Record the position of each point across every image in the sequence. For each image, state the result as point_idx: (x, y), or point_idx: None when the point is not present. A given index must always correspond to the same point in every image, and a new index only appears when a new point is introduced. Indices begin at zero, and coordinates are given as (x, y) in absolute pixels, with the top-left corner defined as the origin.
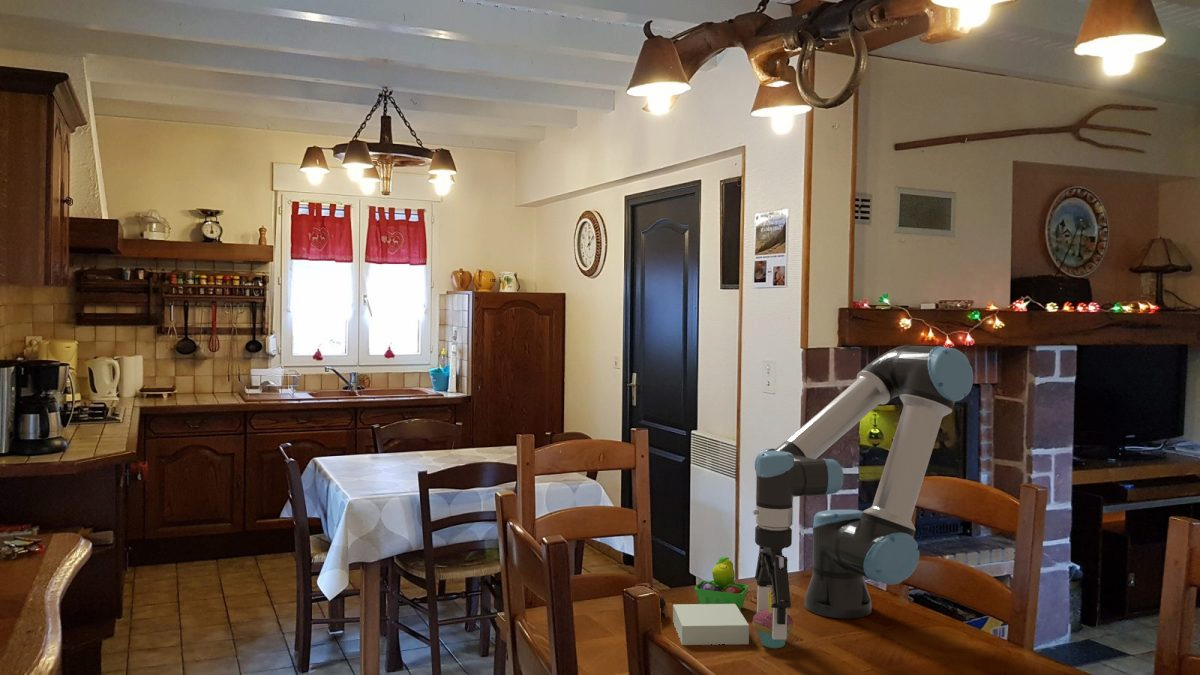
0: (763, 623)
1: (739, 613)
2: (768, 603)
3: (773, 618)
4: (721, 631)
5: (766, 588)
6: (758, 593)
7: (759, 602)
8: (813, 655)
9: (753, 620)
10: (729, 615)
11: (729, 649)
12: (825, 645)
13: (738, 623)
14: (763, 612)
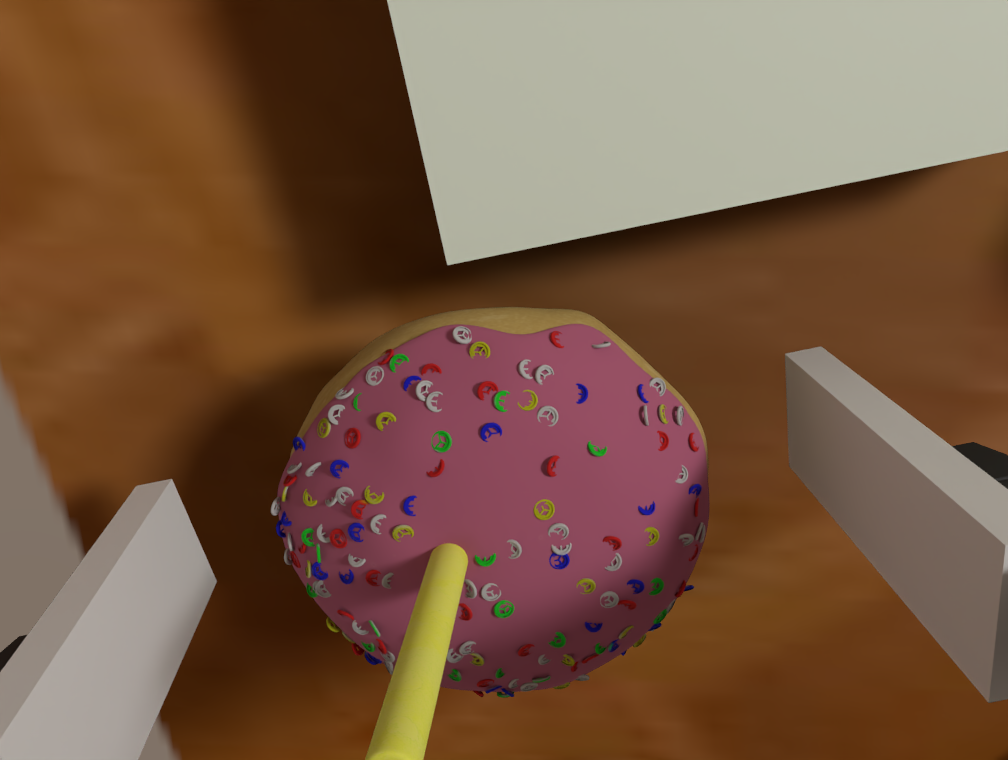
0: (312, 443)
1: (847, 159)
2: (858, 530)
3: (45, 626)
4: None
5: (979, 639)
6: (941, 490)
7: (865, 441)
8: (316, 659)
9: (447, 332)
10: (776, 24)
11: (274, 33)
12: (520, 725)
13: (487, 142)
14: (482, 481)
